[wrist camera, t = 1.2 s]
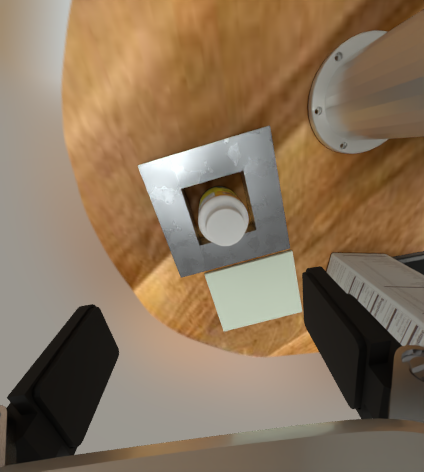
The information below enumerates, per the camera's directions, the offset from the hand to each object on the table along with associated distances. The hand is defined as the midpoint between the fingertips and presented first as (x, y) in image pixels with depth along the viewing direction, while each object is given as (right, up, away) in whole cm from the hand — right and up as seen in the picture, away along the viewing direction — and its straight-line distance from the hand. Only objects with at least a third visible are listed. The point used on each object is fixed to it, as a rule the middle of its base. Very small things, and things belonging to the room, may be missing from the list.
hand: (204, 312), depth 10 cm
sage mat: (+8, -6, +27) cm, 29 cm away
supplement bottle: (+1, +8, +22) cm, 23 cm away
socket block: (+1, +8, +21) cm, 23 cm away
